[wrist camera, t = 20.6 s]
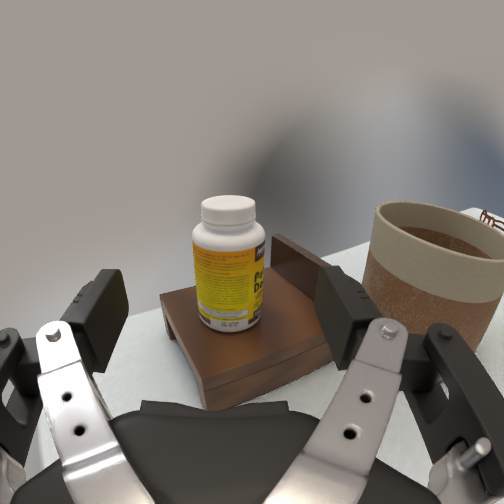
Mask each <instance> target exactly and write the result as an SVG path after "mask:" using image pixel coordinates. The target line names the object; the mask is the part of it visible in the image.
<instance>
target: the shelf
mask: <svg viewBox="0 0 504 504" xmlns="http://www.w3.org/2000/svg"><path fill="white" fill-rule="evenodd" d="M270 266H271V267H269V268H265V269H264V272H263V295H262V312H261V316H260V318H259V320H258V321H257V322H256V323H255V324H254V325H253V326H251V327H249V328H248V329H245V330H242V331H237V332H222V331H217V330H214V329H212V328H210V327H208V326H207V325H206V324H205V323H204V322H203V321H202V320H201V318H200V316H199V311H198V302H197V291H196V286H193V287H189V288H185V289H181V290H176V291H172V292H168V293H164V294H160V300H161V306H162V311H163V316H164V321H165V326H166V331H167V334H168V336H169V338H170V340H171V339H175V338H176V339H177V341H178V343H179V345H180V347H181V349H182V351H183V353H184V355H185V357H186V359H187V361H188V363H189V365H190V367H191V369H192V371H193V372H194V374H195V376H196V378H197V384H198V389H199V394H200V399H201V404H202V406H203V407H204V409H205V410H207V411H219V410H224V409H228V408H230V407H233V406H236V405H238V404H241V403H243V402H246V401H248V400H251V399H253V398H255V397H258V396H260V395H262V394H265V393H267V392H269V391H272V390H274V389H276V388H278V387H281V386H283V385H285V384H287V383H289V382H291V381H294V380H296V379H298V378H300V377H302V376H304V375H306V374H308V373H310V372H312V371H314V370H316V369H318V368H320V367H322V366H324V365H326V364H327V363H329V362H331V361H333V360H334V358H333V356H332V353H331V351H330V348H329V346H328V343H327V340H326V338H325V335H324V333H323V330H322V328H321V326H320V323H319V321H318V318H317V316H316V313H315V308H314V298H315V292H316V285H317V279H318V272H319V268H320V267H321V266H332V265H330V264H328V263H327V262H325V261H324V260H322V259H320V258H319V257H317V256H315V255H314V254H312V253H311V252H309V251H307V250H306V249H304V248H302V247H301V246H299V245H297V244H296V243H294V242H292V241H291V240H289V239H287V238H286V237H284V236H282V235H281V234H274V235H272V245H271V265H270ZM344 274H345V273H344ZM345 275H346V274H345ZM346 277H349V276H348V275H346Z"/></svg>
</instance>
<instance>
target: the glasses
mask: <svg viewBox="0 0 504 504" xmlns="http://www.w3.org/2000/svg"><path fill="white" fill-rule="evenodd" d="M484 212H485V213H484ZM482 215H485V218H484V220H483V221H482V222H484V221H485V219H486V218H487V219H488V223H487V225H489V222H490V220H491V219H492V220H493V224H492V227H493V226H496V227H497V228H499V229H501V230H502V231H504V229H503V228H501V227H500V226H498V225H496V224H494V223H495V222H500V223H502V224H503V225H504V222H502V221H499V220H495V219H494V218H493V217H490V216H489V215H487V211H486V210H483V212H482V213H481V216H480V221H481V218H482Z"/></svg>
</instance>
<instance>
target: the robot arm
mask: <svg viewBox="0 0 504 504" xmlns="http://www.w3.org/2000/svg"><path fill="white" fill-rule="evenodd" d="M314 308H315V313H316V316H317V318H318V321H319V323H320V326H321V328H322V330H323V333H324V335H325V338H326V340H327V343H328V346H329V348H330V351H331V353H332V356H333V358H334V361H335V363H336V366H337V368H338V371H340V370H347V369H348V370H347V372H346V374H345V376H344V378H343V380H342V382H341V384H340V386H339V388H338V390H337V392H336V393H335V395H334V397H333V399H332V401H331V403H330V405H329V406H328V408H327V410H326V412H325V413H324V415H323V417H322V419H321V420H320V419H318V418H315V417H313V416H311V415H307V414H304V413H300V412H296V411H289V408H288V402H287V401H277V402H262V403H249V404H245V405H241V406H237V407H233V408H228V409H224V410H219V411H207V410H203V409H199V408H194V407H190V406H186V405H183V404H179V403H172V402H157V401H146V400H142V403H141V407H140V410H137V411H132V412H128V413H125V414H122V415H120V416H117V417H115V418H113V417H112V415H111V413H110V411H109V409H108V407H107V405H106V403H105V401H104V399H103V397H102V395H101V393H100V391H99V389H98V386H97V384H96V382H95V380H94V378H93V376H92V374H93V372H99V373H105V371H106V368H107V365H108V363H109V360H110V358H111V355H112V353H113V350H114V348H115V345H116V343H117V340H118V338H119V335H120V333H121V330H122V328H123V326H124V323H125V321H126V319H127V316H128V311H129V304H128V299H127V295H126V290H125V286H124V281H123V277H122V273H121V271H120V270H119V269H102V270H101V271H100V272H99V274H98V275H97V277H96V278H95V280H94V281H90V282H89V283H88V284H87V285H85V286H84V287H82V289H81V290H80V292H79V293H78V294H77V296H76V297H75V299H74V300H73V303H71V304H70V306H69V307H68V308H67V310H66V312H65V313H64V314H63V316H62V317H61V319H60V320H59V321H54V322H50V323H48V324H46V325H44V326H43V327H42V328H41V329H40V330H39V331H38V333H37V335H36V337H34V338H26V339H21V337H20V335H19V333H18V331H17V330H16V329H14V328H6V329H3V330H1V331H0V504H494V503H496V502H497V501H499V500H501V499H502V498H504V398H503V396H502V395H501V393H500V391H499V390H498V388H497V387H496V385H495V383H494V382H493V380H492V379H491V377H490V376H489V374H488V373H487V371H486V370H485V368H484V367H483V365H482V364H481V362H480V361H479V360H478V358H477V357H476V355H475V354H474V352H473V351H472V350H471V348H470V347H469V346H468V344H467V343H466V341H465V340H464V339H463V337H462V336H461V335H460V333H459V332H458V331H457V330H456V329H455V328H453V327H452V326H450V325H448V324H445V323H434V324H432V325H430V327H429V329H428V331H427V333H426V335H424V334H413V333H408V331H407V329H406V327H405V326H404V325H403V324H401V323H400V322H398V321H396V320H394V319H390V318H384V317H383V316H382V314H381V313H380V311H379V310H378V308H377V307H376V305H375V304H374V302H373V301H372V299H370V297H369V295H368V294H367V292H365V289H364V288H363V287H362V285H361V284H360V283H359V282H357V281H356V280H355V279H353V278H352V277H346V275H345V274H344V272H343V271H342V269H341V268H340V266H321V267H320V268H319V272H318V279H317V285H316V292H315V298H314ZM441 377H442V379H443V381H444V382H445V384H446V386H447V388H448V390H449V400H448V398H447V397H446V395H445V393H444V391H443V389H442V387H441V385H440V384H439V382H438V381H439V379H440V378H441ZM8 379H9V380H10V381H11V382H12V384H13V385H14V387H15V388H14V390H13V392H12V394H11V397H10V399H9V401H8V403H7V406H6V407H5V406H4V404H3V402H2V392H3V390H4V388H5V386H6V383H7V381H8ZM398 391H403V392H404V394H405V397H406V399H407V401H408V404H409V406H410V408H411V410H412V413H413V415H414V418H415V420H416V422H417V425H418V427H419V430H420V432H421V435H422V437H423V440H424V442H425V445H426V447H427V450H428V453H429V455H430V458H431V461H432V463H433V466H432V468H431V470H430V474H429V483H428V486H427V487H428V488H426V487H424V486H422V485H421V484H419V483H417V482H415V481H414V480H412V479H410V478H408V477H407V476H405V475H403V474H402V473H400V472H398V471H397V470H395V469H393V468H392V467H390V466H389V465H387V464H385V463H384V462H382V461H381V460H379V459H378V458H376V454H377V452H378V449H379V447H380V444H381V442H382V439H383V436H384V434H385V431H386V428H387V425H388V422H389V419H390V416H391V413H392V410H393V407H394V403H395V400H396V397H397V393H398ZM43 406H44V410H45V414H46V417H47V421H48V424H49V427H50V431H51V434H52V437H53V440H54V443H55V446H56V449H57V452H58V454H59V457H60V458H59V459H58V460H57V461H55V462H54V463H52V464H51V465H50V466H48V467H47V468H45V469H44V470H43V471H41V472H40V473H38V474H37V475H36V476H34V477H33V478H31V479H30V480H29V481H27V480H26V474H25V471H24V466H25V462H26V458H27V455H28V451H29V448H30V444H31V441H32V438H33V434H34V431H35V429H36V426H37V423H38V420H39V417H40V414H41V411H42V408H43Z"/></svg>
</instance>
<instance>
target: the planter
mask: <svg viewBox="0 0 504 504" xmlns="http://www.w3.org/2000/svg"><path fill="white" fill-rule="evenodd" d="M362 287H363V288H364V289H365V292H367V294H368V295H369V297H370V299H372V301H373V302H374V304H375V305H376V307H377V308H378V310H379V311H380V313H381V314H382V316H383V317H384V318H390V319H394V320H396V321H398V322H400V323H401V324H403V325H404V326H405V327H406V329H407V331H408V333H413V334H424V335H426V333H427V331H428V329H429V327H430V325H432V324H434V323H445V324H448V325H450V326H452V327H453V328H455V329H456V330H457V331H458V332H459V333H460V335H461V336H462V337H463V339H464V340H465V341H466V343H467V344H468V346H469V347H470V348H471V350H472V351H473V352H475V350H476V349H477V347H478V345H479V343H480V341H481V339H482V337H483V336H484V334H485V332H486V330H487V328H488V326H489V324H490V322H491V319H492V317H493V315H494V313H495V311H496V309H497V306H498V304H499V302H500V299H501V297H502V295H503V292H504V235H503V234H502V233H500V232H499V231H497V230H496V229H494V228H493V227H491V226H489V225H487V224H486V223H484V222H482V221H480V220H477V219H475V218H473V217H471V216H468V215H466V214H463V213H460V212H457V211H454V210H451V209H447V208H444V207H440V206H436V205H431V204H426V203H420V202H411V201H391V202H385V203H382V204H380V205H379V206H378V207H377V208H376V212H375V218H374V224H373V230H372V235H371V241H370V246H369V252H368V257H367V262H366V267H365V271H364V276H363V280H362ZM439 380H443V379H442V377H441V378H440V379H439Z"/></svg>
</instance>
